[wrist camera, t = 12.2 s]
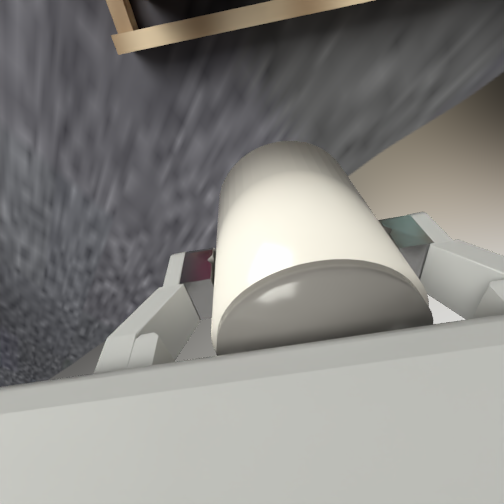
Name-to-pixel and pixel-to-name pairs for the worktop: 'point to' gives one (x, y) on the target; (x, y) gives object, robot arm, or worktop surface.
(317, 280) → the jar
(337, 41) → the worktop surface
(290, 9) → the light wood rectangular tray
